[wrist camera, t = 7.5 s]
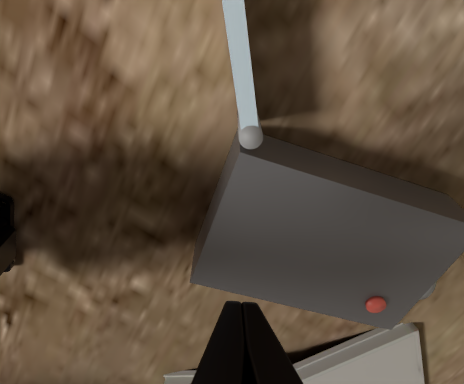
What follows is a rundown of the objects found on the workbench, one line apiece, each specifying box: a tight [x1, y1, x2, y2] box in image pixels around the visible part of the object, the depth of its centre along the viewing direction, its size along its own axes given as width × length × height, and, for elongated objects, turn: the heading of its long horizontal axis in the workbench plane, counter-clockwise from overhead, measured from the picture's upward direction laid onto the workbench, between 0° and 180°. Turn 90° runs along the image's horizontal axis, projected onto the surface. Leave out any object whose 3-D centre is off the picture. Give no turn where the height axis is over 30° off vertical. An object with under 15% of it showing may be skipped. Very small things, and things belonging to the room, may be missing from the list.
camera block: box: [190, 129, 464, 330], centre depth 20 cm, size 15×9×4 cm, turn 71°
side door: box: [222, 0, 263, 149], centre depth 14 cm, size 10×1×4 cm, turn 9°
